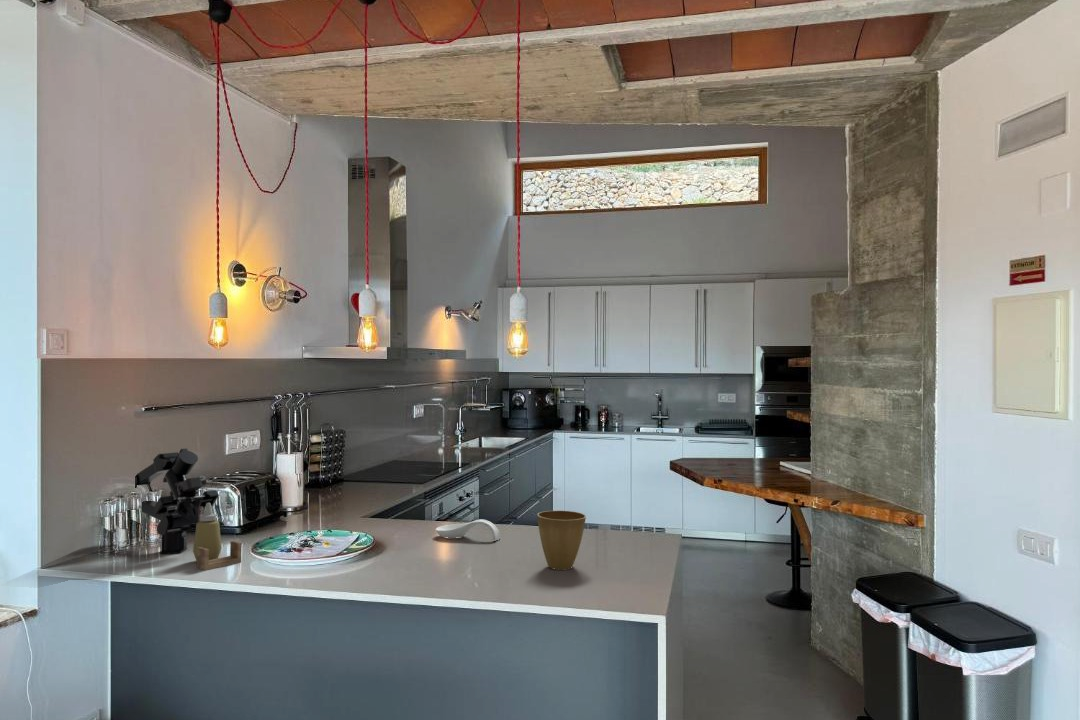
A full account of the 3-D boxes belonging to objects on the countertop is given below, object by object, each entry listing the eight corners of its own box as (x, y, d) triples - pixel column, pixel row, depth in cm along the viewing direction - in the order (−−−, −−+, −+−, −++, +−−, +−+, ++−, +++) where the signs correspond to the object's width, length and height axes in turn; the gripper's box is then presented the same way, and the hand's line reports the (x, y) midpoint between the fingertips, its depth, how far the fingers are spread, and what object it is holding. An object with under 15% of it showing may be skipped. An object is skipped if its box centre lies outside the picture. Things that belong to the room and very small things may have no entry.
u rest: (197, 567, 213) (197, 547, 213) (233, 559, 223) (233, 540, 223) (205, 570, 211) (205, 549, 211) (241, 562, 220) (241, 542, 220)
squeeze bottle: (210, 565, 216) (211, 506, 216) (186, 563, 217) (187, 504, 218) (226, 558, 224) (228, 501, 224) (204, 557, 225) (205, 500, 226)
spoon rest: (430, 540, 253) (430, 519, 253) (443, 533, 264) (444, 513, 265) (492, 545, 246) (492, 524, 247) (504, 538, 258) (504, 518, 258)
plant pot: (550, 575, 208) (550, 521, 209) (529, 563, 222) (529, 512, 222) (594, 570, 215) (594, 517, 215) (571, 558, 228) (571, 508, 228)
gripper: (159, 471, 221) (177, 511, 214) (216, 465, 236) (234, 502, 229) (146, 493, 225) (163, 533, 218) (203, 486, 240) (220, 523, 234)
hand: (196, 522), depth 225 cm, fingers closed
